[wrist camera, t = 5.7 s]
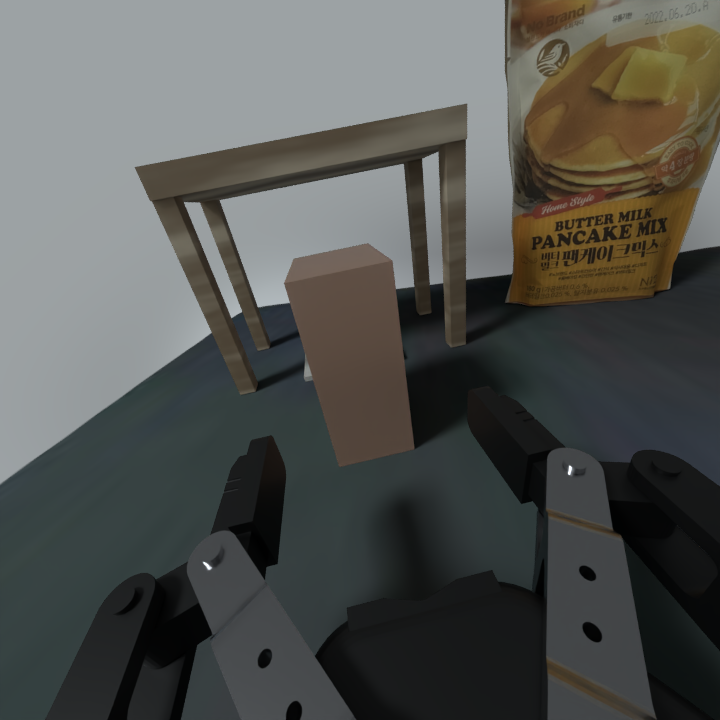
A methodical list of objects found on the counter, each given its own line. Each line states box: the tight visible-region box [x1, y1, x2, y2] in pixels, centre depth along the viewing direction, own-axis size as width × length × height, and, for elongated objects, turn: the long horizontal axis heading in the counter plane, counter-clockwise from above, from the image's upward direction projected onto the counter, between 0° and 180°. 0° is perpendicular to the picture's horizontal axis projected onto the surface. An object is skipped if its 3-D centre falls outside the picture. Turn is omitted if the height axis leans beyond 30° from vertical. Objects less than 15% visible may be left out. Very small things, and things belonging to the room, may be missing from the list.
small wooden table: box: [135, 104, 467, 395], centre depth 30 cm, size 12×23×19 cm, turn 98°
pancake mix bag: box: [505, 0, 720, 306], centre depth 29 cm, size 7×19×28 cm, turn 77°
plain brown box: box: [284, 244, 414, 467], centre depth 19 cm, size 7×5×12 cm
